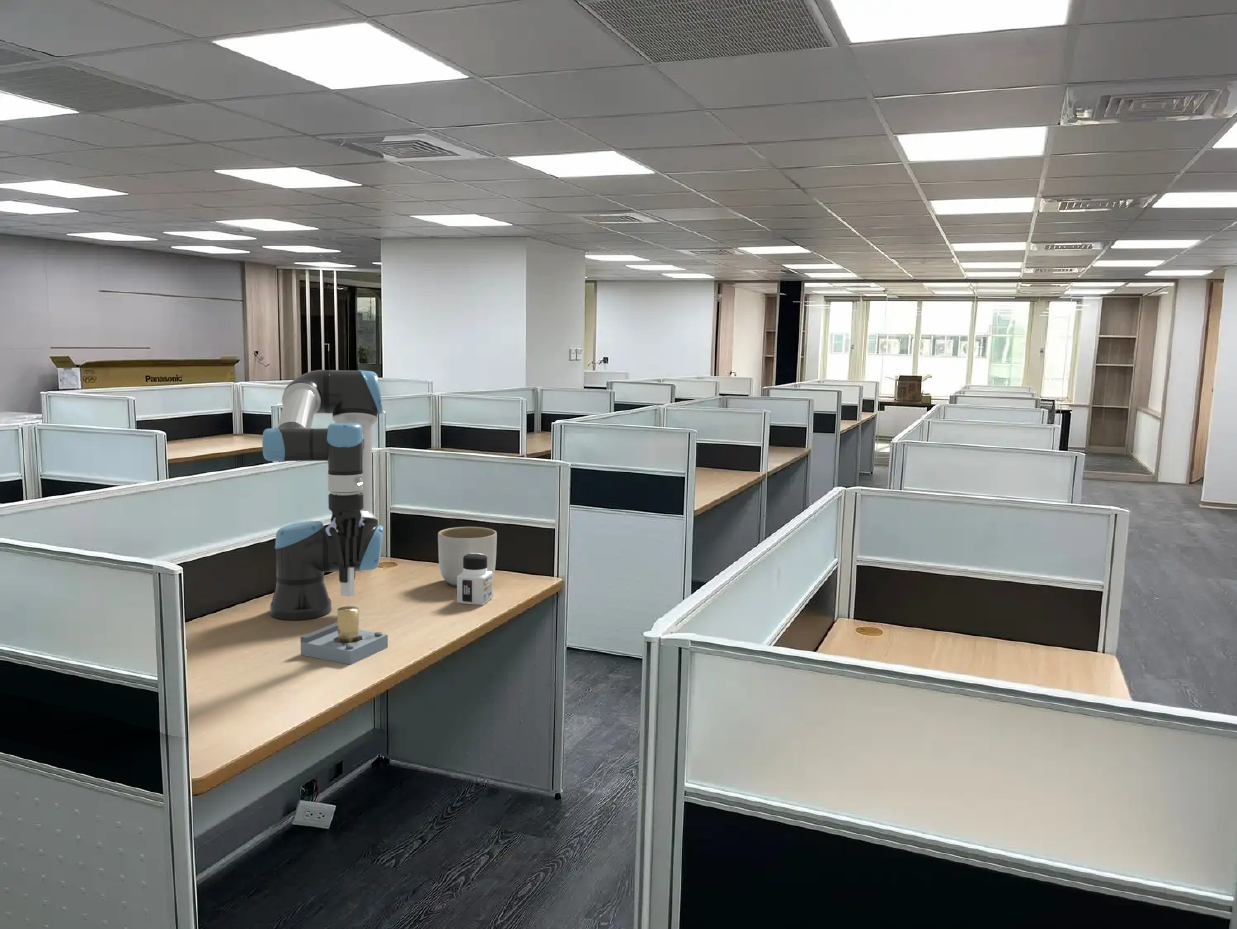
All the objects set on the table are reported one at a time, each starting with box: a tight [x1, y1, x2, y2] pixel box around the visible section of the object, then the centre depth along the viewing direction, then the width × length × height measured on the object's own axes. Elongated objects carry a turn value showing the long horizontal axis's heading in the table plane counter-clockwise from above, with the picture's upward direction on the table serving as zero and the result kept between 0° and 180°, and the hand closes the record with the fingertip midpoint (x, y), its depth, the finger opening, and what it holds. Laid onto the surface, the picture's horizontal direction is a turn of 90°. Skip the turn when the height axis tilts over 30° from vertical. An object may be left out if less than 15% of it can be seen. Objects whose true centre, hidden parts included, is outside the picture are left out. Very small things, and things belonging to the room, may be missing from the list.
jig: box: [300, 621, 389, 665], centre depth 211 cm, size 14×13×4 cm
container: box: [456, 553, 494, 606], centre depth 253 cm, size 8×8×13 cm
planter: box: [437, 526, 498, 587], centre depth 272 cm, size 17×17×15 cm
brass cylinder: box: [336, 605, 360, 644], centre depth 210 cm, size 5×5×10 cm
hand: (347, 595), depth 209 cm, fingers closed
